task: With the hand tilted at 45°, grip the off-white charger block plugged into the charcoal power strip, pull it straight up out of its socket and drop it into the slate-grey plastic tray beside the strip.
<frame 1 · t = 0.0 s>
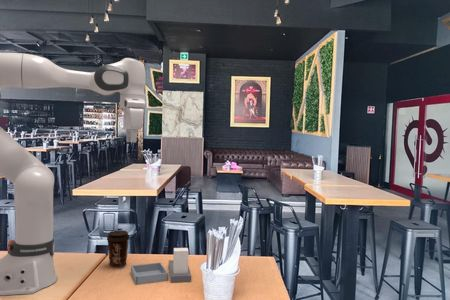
hand: (131, 142, 129), 48 cm above the table, tool pointing down, fingers open, 8 cm apart
tray: (148, 277, 126), on the table
coffee cup: (117, 266, 136), on the table
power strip: (179, 274, 130), on the table
charger: (180, 277, 126), resting in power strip
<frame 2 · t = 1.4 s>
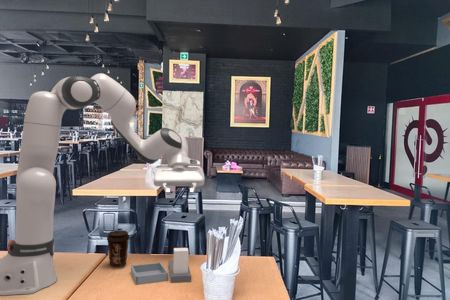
hand: (179, 193, 137), 29 cm above the table, tool tilted 45°, fingers open, 8 cm apart
nothing on the table moved.
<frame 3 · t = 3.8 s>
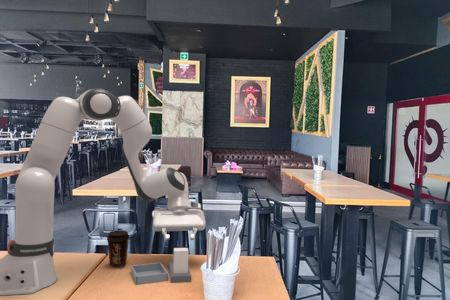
hand: (179, 239, 132), 12 cm above the table, tool tilted 45°, fingers open, 8 cm apart
nothing on the table moved.
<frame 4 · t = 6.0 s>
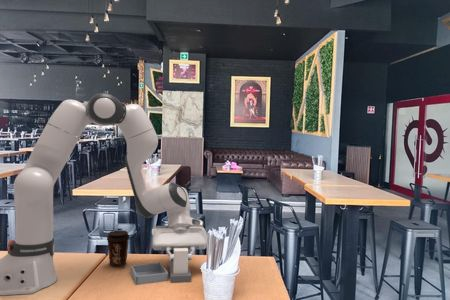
hand: (180, 259, 125), 7 cm above the table, tool tilted 45°, fingers closed on charger, 5 cm apart
charger: (180, 277, 126), resting in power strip, touching gripper
everything else where it was.
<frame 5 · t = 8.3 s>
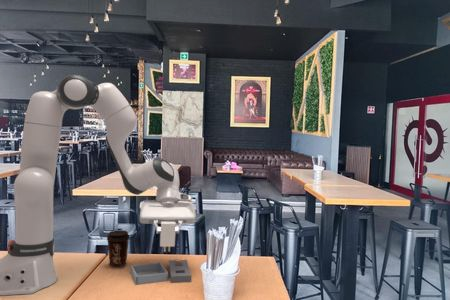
hand: (167, 232, 124), 17 cm above the table, tool tilted 45°, fingers closed on charger, 5 cm apart
charger: (166, 251, 125), point 10 cm above the table, touching gripper
everything else where it was.
when the fingers open (9 cm above the table, at t = 10.8 s): charger drops 1 cm, resting on tray.
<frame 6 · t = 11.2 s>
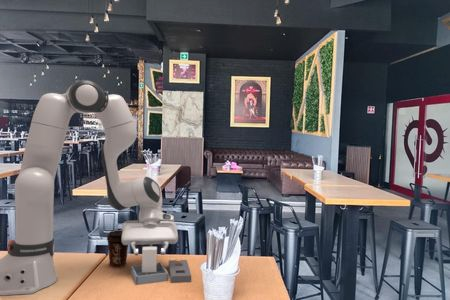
hand: (149, 254, 125), 9 cm above the table, tool tilted 45°, fingers open, 8 cm apart
charger: (148, 276, 126), resting on tray
everything else where it was.
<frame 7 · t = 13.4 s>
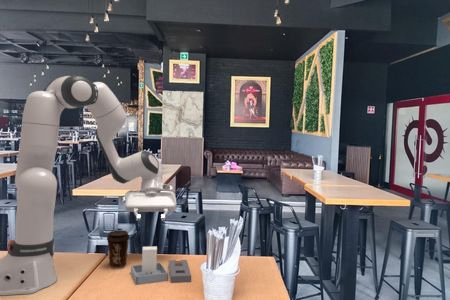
hand: (150, 219, 137), 18 cm above the table, tool tilted 45°, fingers open, 8 cm apart
nothing on the table moved.
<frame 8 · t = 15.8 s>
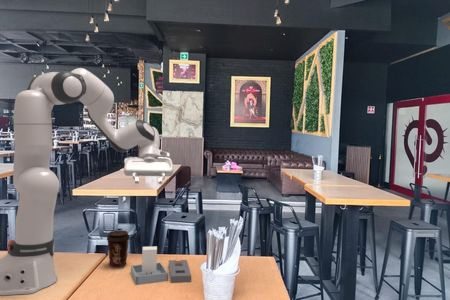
hand: (148, 182, 144), 31 cm above the table, tool tilted 45°, fingers open, 8 cm apart
nothing on the table moved.
at the end: charger inside the target area on the tray (0.1 cm from its centre), point 0.4 cm above the tray's base; charger touching tray; the gripper is holding nothing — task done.
